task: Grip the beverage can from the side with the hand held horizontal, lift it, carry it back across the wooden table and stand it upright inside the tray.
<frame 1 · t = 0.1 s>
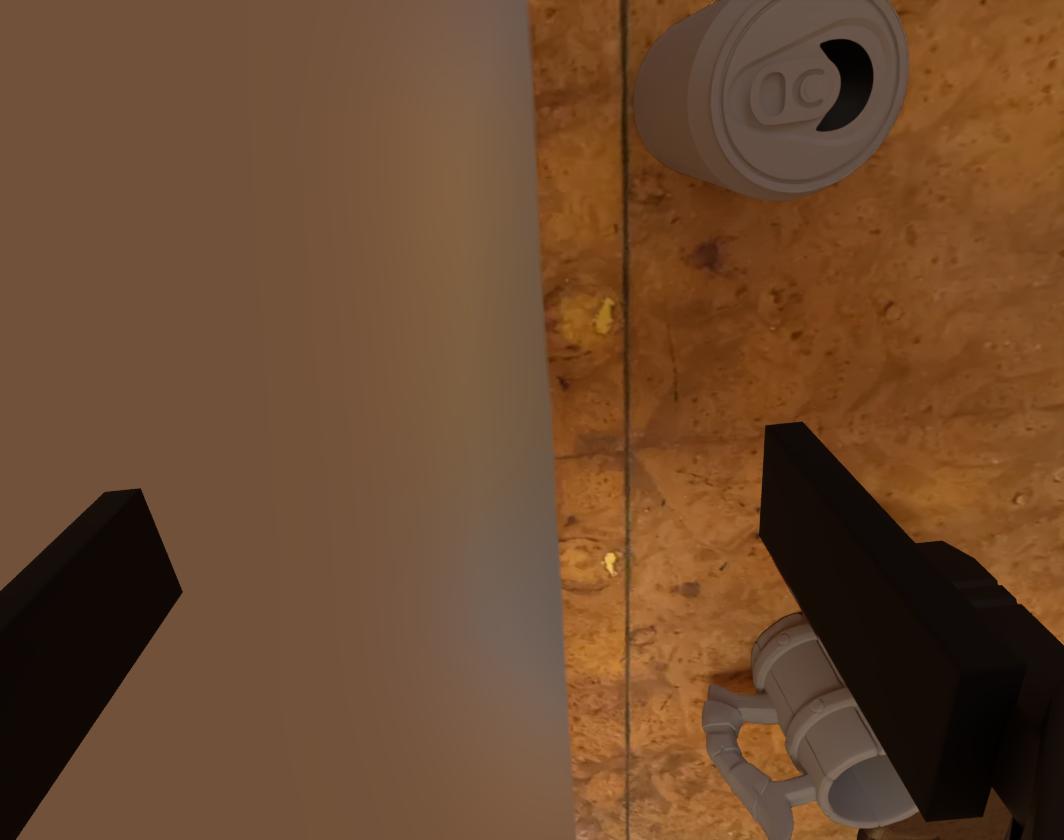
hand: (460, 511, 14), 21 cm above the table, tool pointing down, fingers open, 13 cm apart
mug: (771, 657, 44), on the table
wooden carving: (937, 778, 50), on the table
beverage can: (699, 97, 30), on the table
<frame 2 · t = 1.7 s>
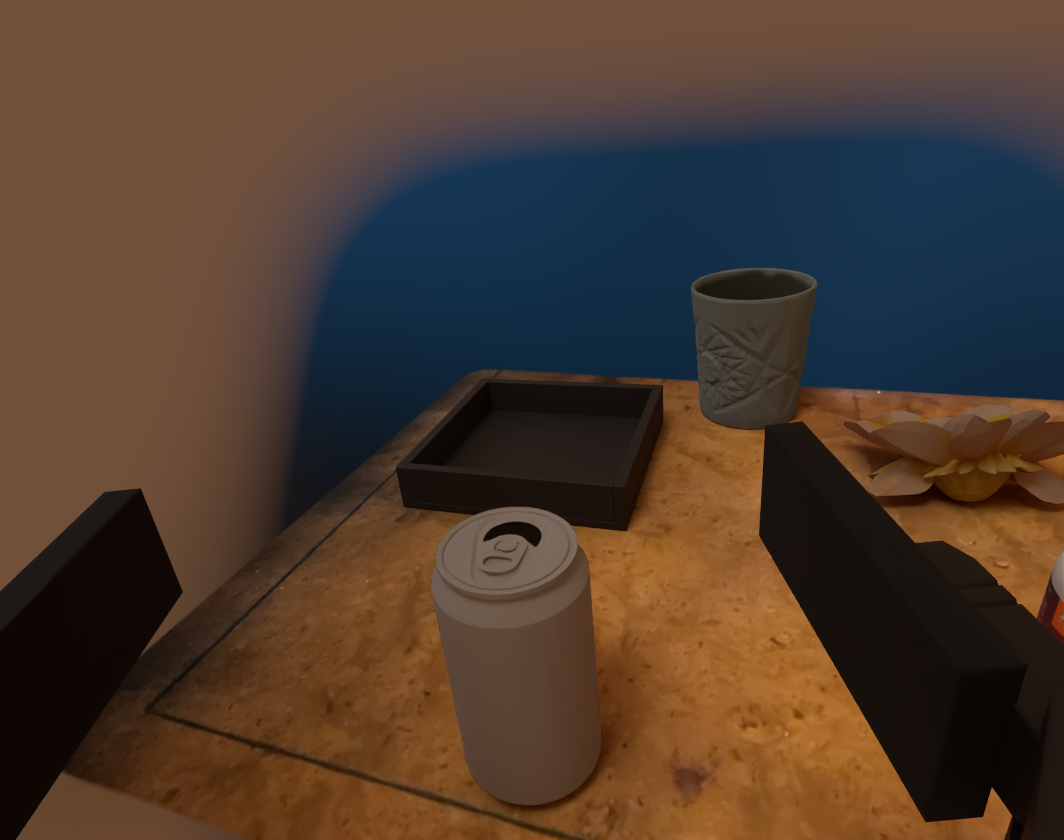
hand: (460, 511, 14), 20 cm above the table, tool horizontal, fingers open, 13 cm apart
decorative flower: (960, 488, 48), on the table
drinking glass: (746, 412, 62), on the table
tray: (544, 460, 57), on the table
beverage can: (534, 754, 31), on the table
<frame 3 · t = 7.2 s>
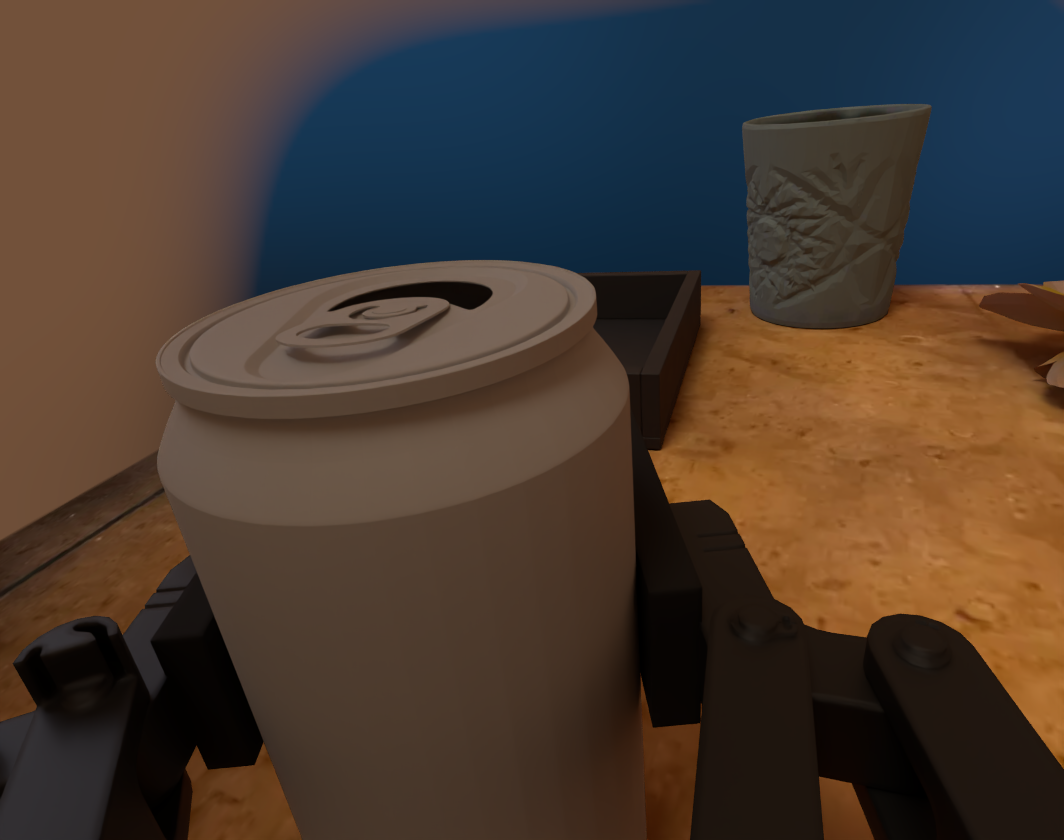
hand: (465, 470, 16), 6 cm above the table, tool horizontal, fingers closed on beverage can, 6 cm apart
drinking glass: (815, 312, 44), on the table
tray: (533, 370, 39), on the table
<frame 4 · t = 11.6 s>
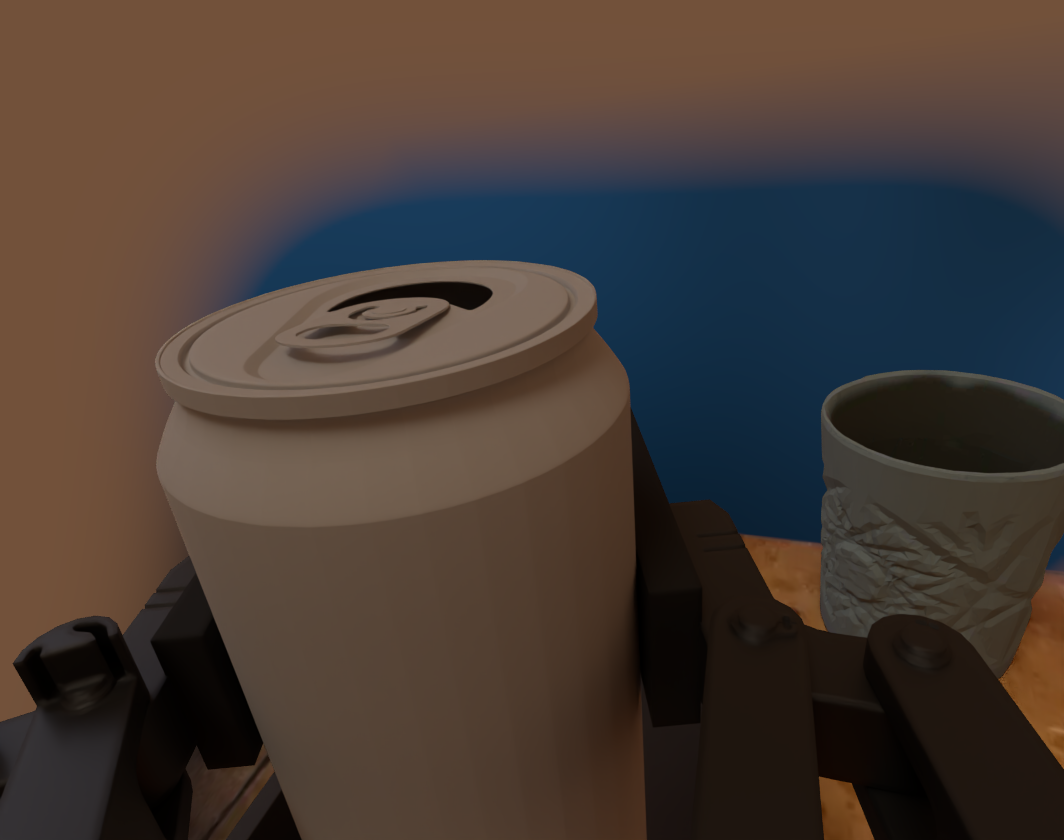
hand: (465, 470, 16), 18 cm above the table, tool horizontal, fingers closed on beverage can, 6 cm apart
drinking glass: (910, 631, 34), on the table
tray: (538, 771, 28), on the table
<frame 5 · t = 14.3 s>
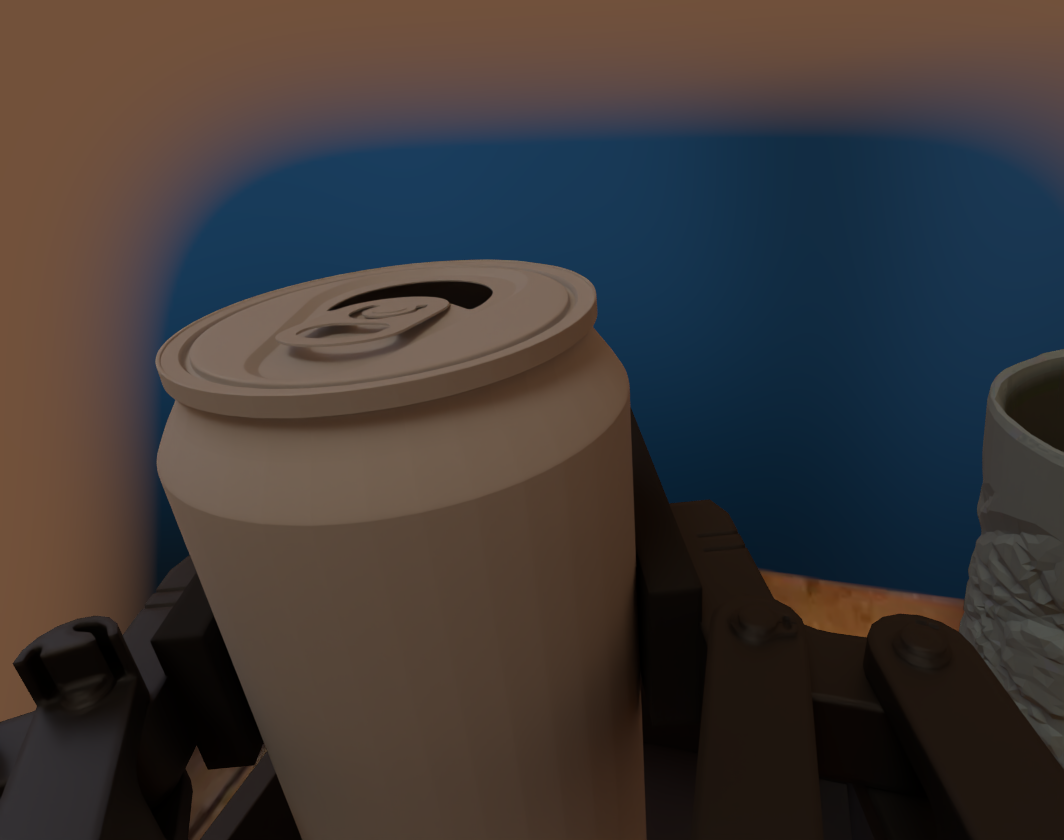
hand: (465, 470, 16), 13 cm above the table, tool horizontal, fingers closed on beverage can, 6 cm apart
when the fingers open (7 cm above the table, at t = 16.3 s): beverage can stays where it is, resting on tray.
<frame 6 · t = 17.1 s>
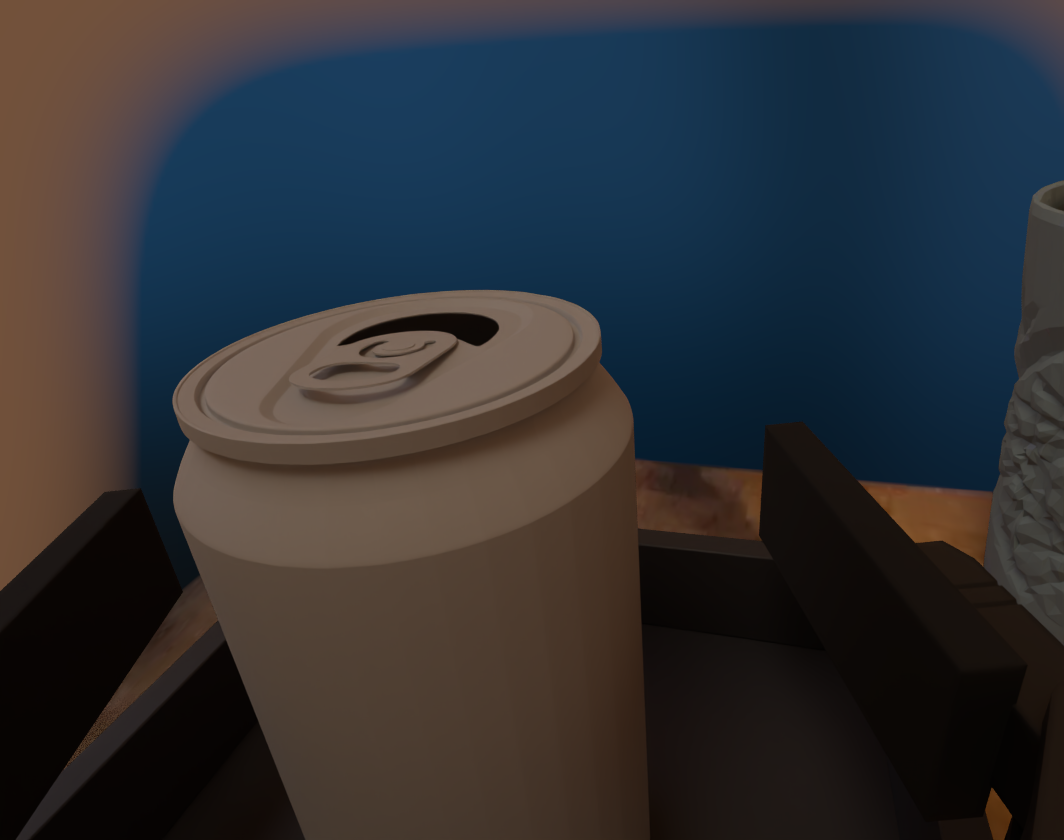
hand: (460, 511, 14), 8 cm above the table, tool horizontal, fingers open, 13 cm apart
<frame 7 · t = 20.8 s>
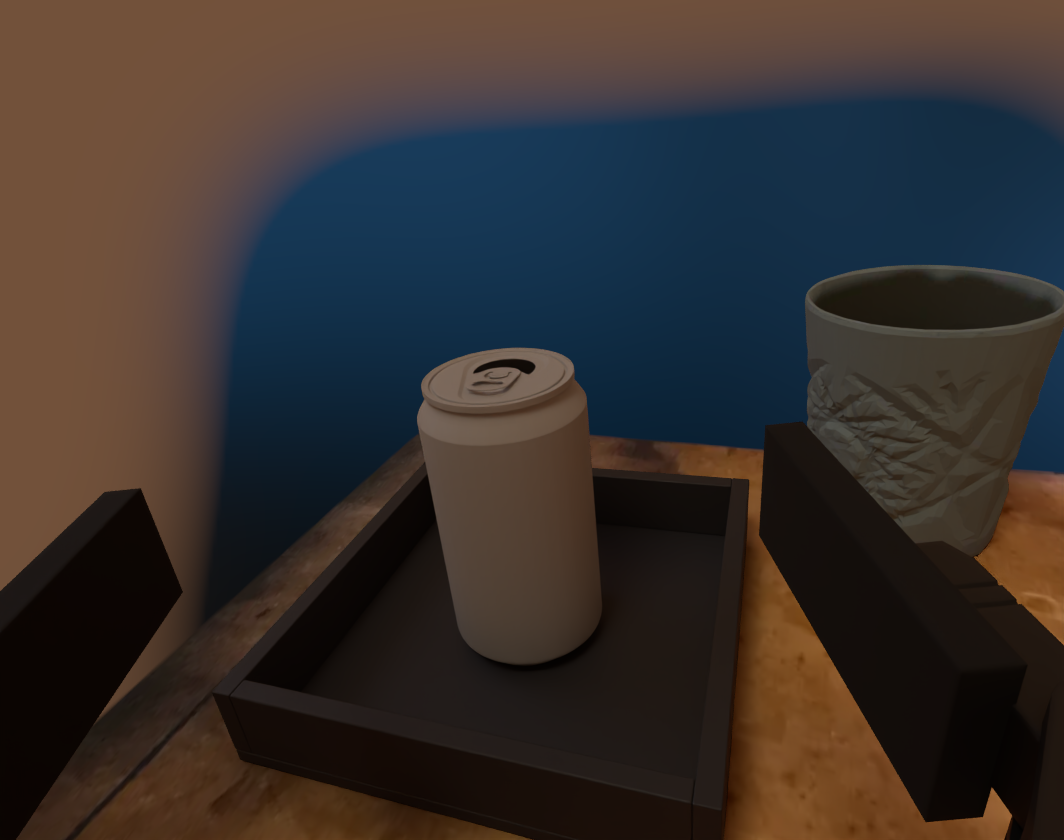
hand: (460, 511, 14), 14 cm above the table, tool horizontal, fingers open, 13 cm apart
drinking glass: (894, 521, 35), on the table
tray: (531, 633, 30), on the table
beverage can: (531, 626, 30), resting on tray
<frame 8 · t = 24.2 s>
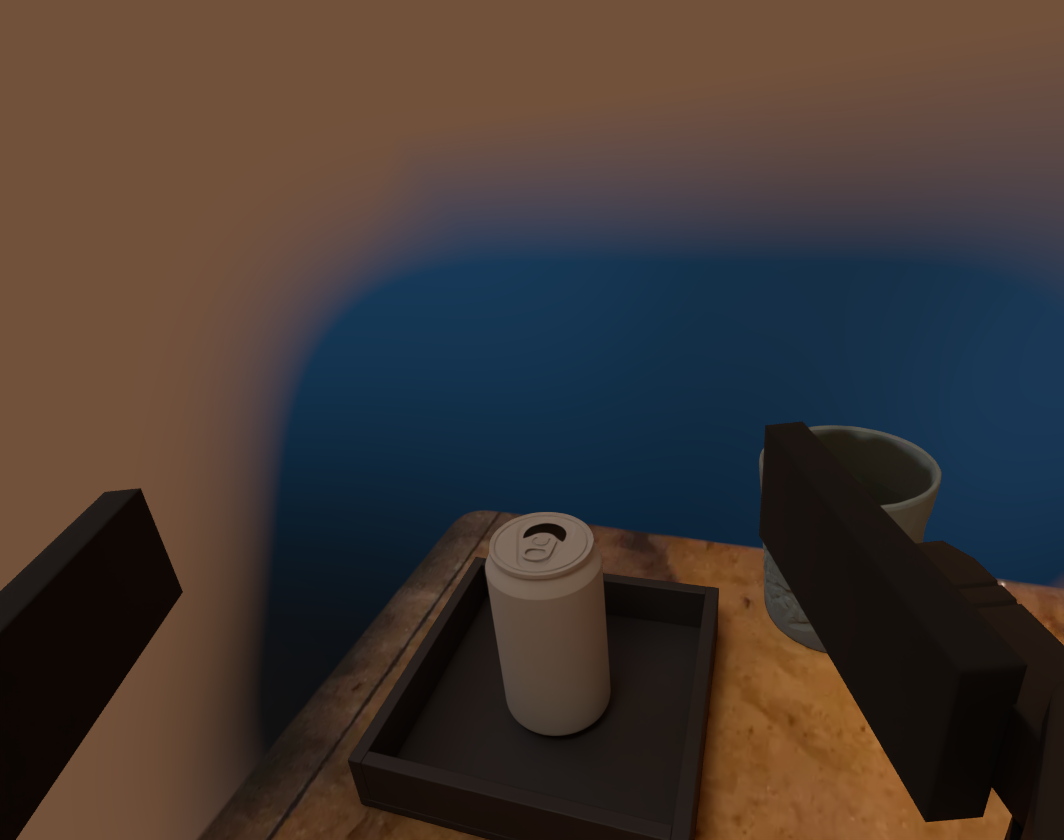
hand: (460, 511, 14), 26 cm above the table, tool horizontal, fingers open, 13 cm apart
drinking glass: (828, 614, 46), on the table
tray: (559, 707, 41), on the table
beverage can: (559, 702, 41), resting on tray
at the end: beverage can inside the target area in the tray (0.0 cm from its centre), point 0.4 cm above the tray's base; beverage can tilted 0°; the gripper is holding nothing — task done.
